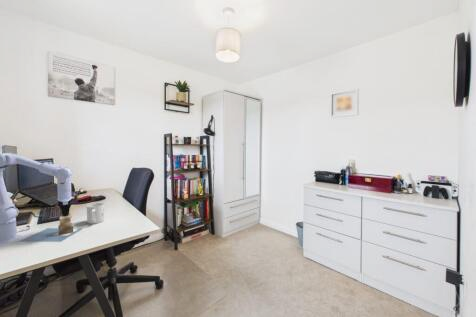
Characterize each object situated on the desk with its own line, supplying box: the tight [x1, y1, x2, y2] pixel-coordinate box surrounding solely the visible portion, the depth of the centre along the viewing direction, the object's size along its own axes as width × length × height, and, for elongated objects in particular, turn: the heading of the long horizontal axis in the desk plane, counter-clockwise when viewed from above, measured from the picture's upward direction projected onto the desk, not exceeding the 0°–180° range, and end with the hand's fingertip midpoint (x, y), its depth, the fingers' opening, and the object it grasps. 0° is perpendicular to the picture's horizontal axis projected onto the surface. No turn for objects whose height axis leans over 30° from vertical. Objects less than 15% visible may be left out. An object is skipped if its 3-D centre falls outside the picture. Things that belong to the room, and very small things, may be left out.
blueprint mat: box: [19, 227, 84, 243], centre depth 110 cm, size 20×16×1 cm
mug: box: [86, 202, 105, 225], centre depth 127 cm, size 12×9×11 cm
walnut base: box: [57, 222, 74, 235], centre depth 113 cm, size 6×6×4 cm
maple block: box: [59, 214, 72, 228], centre depth 112 cm, size 4×4×5 cm
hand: (65, 214), depth 112 cm, fingers open, 5 cm apart
